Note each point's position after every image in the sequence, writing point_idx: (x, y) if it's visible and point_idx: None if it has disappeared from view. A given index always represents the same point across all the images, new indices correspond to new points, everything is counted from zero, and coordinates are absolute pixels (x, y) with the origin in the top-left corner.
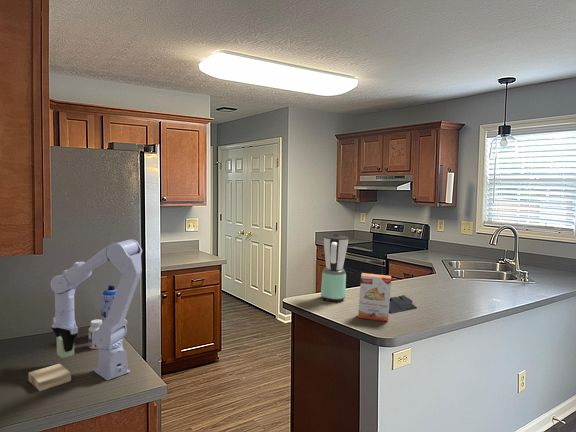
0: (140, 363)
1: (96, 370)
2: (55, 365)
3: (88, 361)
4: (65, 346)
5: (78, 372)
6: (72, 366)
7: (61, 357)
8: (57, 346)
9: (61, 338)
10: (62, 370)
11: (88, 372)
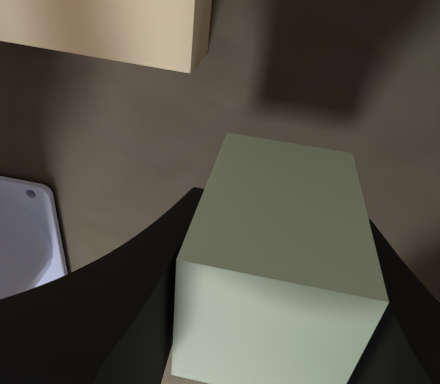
0: None
1: (19, 191)
2: (173, 24)
3: None
4: (158, 221)
5: (89, 125)
6: (208, 155)
7: (238, 136)
8: (340, 202)
9: (263, 302)
10: (22, 7)
11: (51, 159)
